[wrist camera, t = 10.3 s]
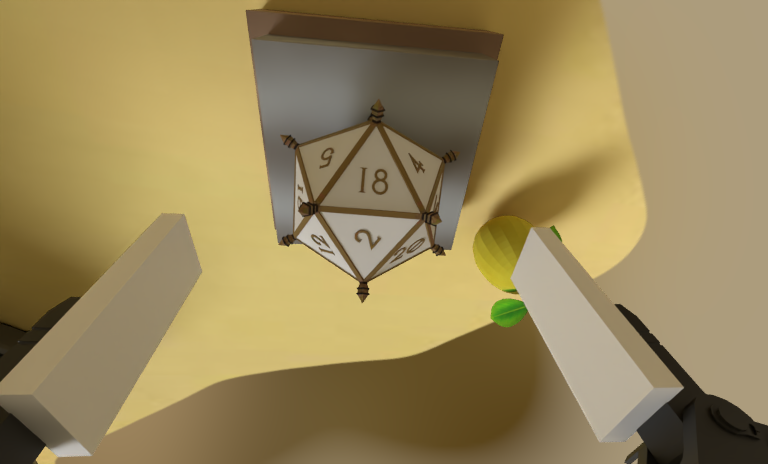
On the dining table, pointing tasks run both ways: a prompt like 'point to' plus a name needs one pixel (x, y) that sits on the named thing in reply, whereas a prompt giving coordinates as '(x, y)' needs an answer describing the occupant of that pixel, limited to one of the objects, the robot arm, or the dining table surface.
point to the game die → (366, 198)
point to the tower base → (370, 92)
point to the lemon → (503, 262)
